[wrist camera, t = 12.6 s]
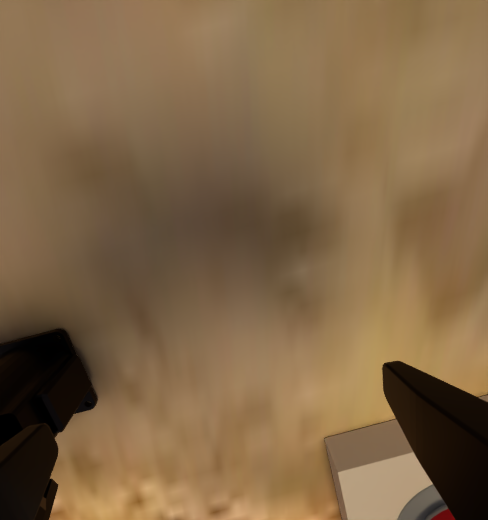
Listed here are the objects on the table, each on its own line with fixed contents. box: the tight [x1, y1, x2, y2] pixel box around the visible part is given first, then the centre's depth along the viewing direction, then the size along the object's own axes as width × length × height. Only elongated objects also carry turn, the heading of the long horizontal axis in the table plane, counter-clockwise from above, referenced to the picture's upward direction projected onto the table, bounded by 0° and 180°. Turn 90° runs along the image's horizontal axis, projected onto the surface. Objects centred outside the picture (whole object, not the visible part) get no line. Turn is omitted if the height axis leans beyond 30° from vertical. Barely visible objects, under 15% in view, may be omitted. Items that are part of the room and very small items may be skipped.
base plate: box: [324, 395, 488, 520], centre depth 25 cm, size 16×16×3 cm
